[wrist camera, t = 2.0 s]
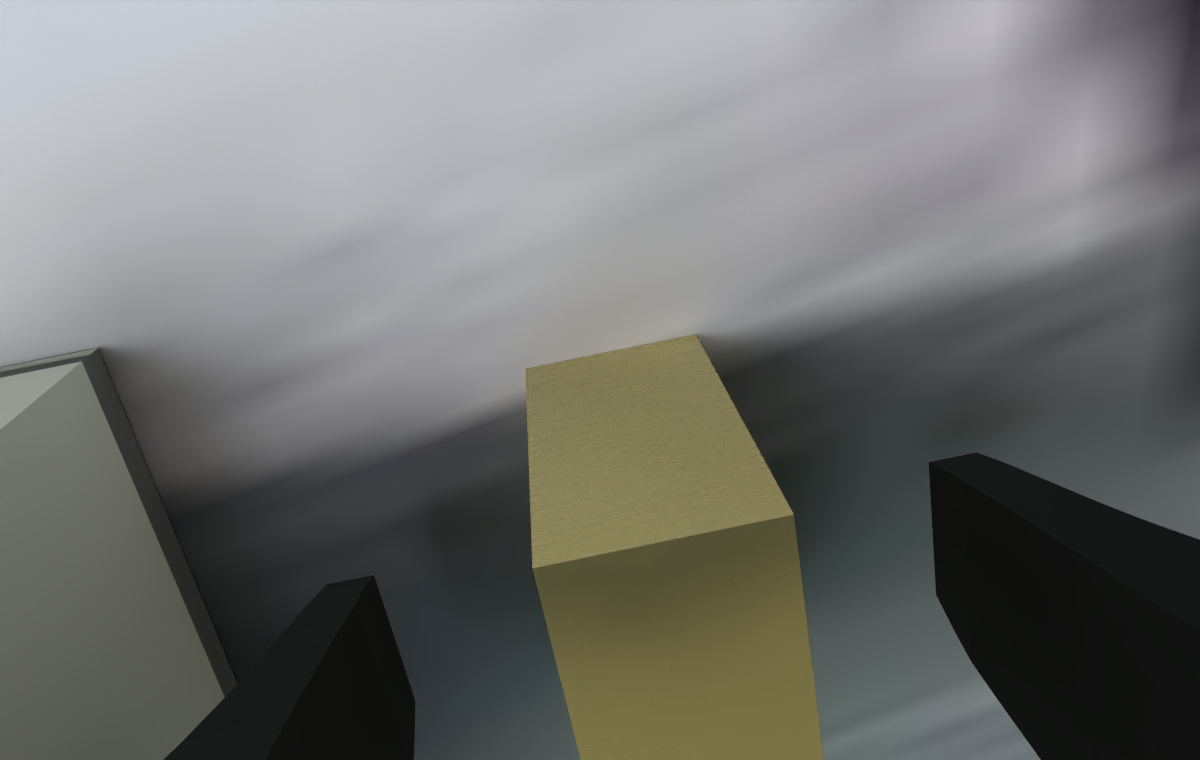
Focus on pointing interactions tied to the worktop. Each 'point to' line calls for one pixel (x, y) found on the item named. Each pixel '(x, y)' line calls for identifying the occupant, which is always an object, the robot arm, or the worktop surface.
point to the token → (666, 563)
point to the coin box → (92, 580)
